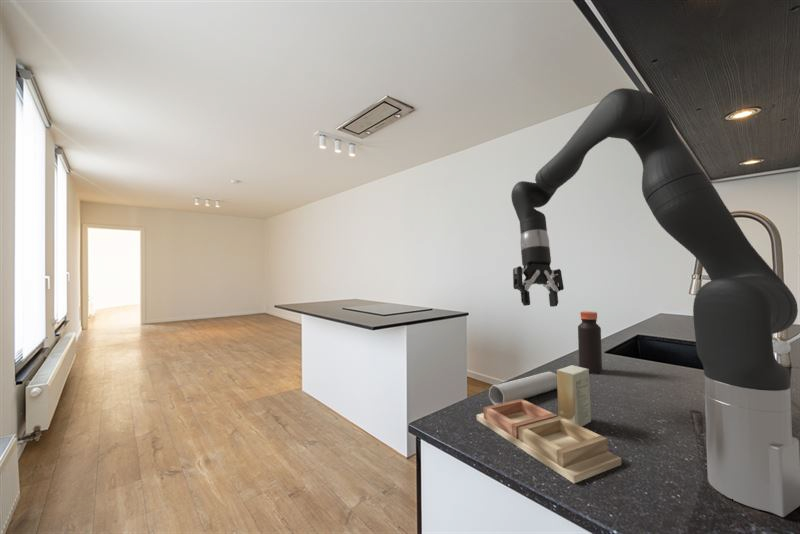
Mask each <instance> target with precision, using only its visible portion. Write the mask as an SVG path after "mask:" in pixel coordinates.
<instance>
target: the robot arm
mask: <svg viewBox="0 0 800 534" xmlns="http://www.w3.org/2000/svg"><path fill="white" fill-rule="evenodd" d="M608 138H612V139H619V140H620V139H621V140H626V141H627V142H629V144H630V145H631V146H632V147H633V148H634V150H635V152H636V154H637V155H638V157H639V158H640V160H641V164H642V179H641V191H642V195H643V197H644V200H645V202H646V204H647V206H648V208H649V209H650V212H651V213H652V215H653V217H654V218H655V219H656V221H657V222H658V224H659V225H660V227H661V228H662V229H663V230H664V231H665V232H666V233H667V234H668V235H670V236H671V237H672V238H673V239H674V240H676V242H678V243H679V244H680V245H681V246H682V247H684V248H685V249H686V250H687V251H688V252H690V254H691V255H693V256H694V257H695V258H696V259H697V261H698V262H699V263H700V264H701V266H702V267H703V268H704V270H705V272H706V274H707V275H708V278H709V280H710V281H707V282H705V283H704V284H703V285H702V286H701V287H700V288H699V289H698V290H697V292H696V294H695V297H694V301H693V306H692V307H693V308H692V309H693V310H692V311H693V312H692V314H693V327H694V328H693V329H694V336H695V337H694V339H695V349H696V353H697V356H698V359H699V360H700V362H701V364H702V366H703V374H704V375H703V377H704V379H703V380H704V406H705V408H704V409H705V410H704V411H705V413H704V414H705V436H706V437H705V439H706V470H707V481H708V483H709V484H710V486H711V487H712V488H713V489H715V491H716V492H718V493H720V494H721V495H723V496H725V497H727V498H728V499H731V500H732V499H733V501H735V502H737V503H739V504H742V505H744V506H747V507H749V508H753V509H756V510H761V511H765V512H768V513H772V514H774V515H776V516H779V517H781V518H785V517H787V515H789V514H790V513H792V512H794V511H795V510H796V509H797V508H799V507H800V442H799V439H798V438H796V437H793V430H792V429H793V428H792V426H793V425H792V404H791V401H792V400H791V379H790V378H791V377H790V372H789V371H790V370H789V369H788V368H787V367H786V366H785V365H783V364H782V363H779V362H778V361H777V359H776V357H775V352H774V344H773V335H774V334H777V333H780V332H783V331H786V330H787V329H789V328H790V327H792V325H793V324H794V323H795V322H796V319H797V317H798V311H799V310H798V303H797V300H796V297H795V295H794V294H793V292H792V291H791V290H790V289H789V287H788V285H786V283H785V282H784V281H783V280H782V279H781V278H780V277H779V275H778V274H777V273H776V272H775V271H774V270H773V269H772V268H771V266H770V265H769V263H767V262H766V261H765V259H764V258H763V257H762V256H761V255H760V253H758V251H757V250H756V249H755V248H754V246H753V245H752V244H751V242H750V241H749V239H748V238H747V237H746V234H744V232H743V231H742V228H741V227H740V225H739V224H738V222H737V221H736V219H735V217H734V216H733V214H732V213H731V212H730V210H729V209H728V207H727V206H726V204H725V202H724V201H723V199H722V198H721V196H720V194H719V192H718V191H717V189H716V188H715V186H714V185H713V184H712V182H711V181H710V179H709V178H708V176H707V175H706V173H705V172H704V170H703V169H702V168H701V167H700V165H699V164H698V163H697V161H696V160H695V158H694V156H693V155H692V154H691V152H690V150H689V149H688V148H687V146H686V145H685V144H684V142H683V141H682V139H681V138H680V136H679V134H678V133H677V131H676V129H675V126H674V124H673V123H672V120H671V117H670V115H669V114H668V111H667V109H666V107H665V105H664V103H663V102H662V100H661V99H660V97H658V96H657V95H655V93H653V92H650V91H643V90H640V89H639V90H638V89H632V88H628V87H627V88H625V87H624V88H623V87H621V88H617V89H615V90H612V91H611V92H609V93H607V94H606V95H605V96H604V97H603V98H602V99H601V100H600V101H599V102H598V104H597V105H596V106H595V107H594V108H593V109H592V111H591V112H590V113H589V114H588V116H587V117H586V118H585V120H584V121H583V122H582V123H581V125H580V126H579V127H578V128H577V130H576V131H575V132H574V133H573V134H572V136H571V137H570V139H569V140H568V141H567V142H566V143H565V145H564V146H563V147H562V148H560V150H559V152H558V153H557V154H556V155H554V156H553V157H552V158H550V160H549V161H548V162H547V163H545V164H544V165H543V167H541V168H540V169H539V170H538V172H537V173H536V175H535V178H534V180H535V182H531V181H526V180H525V181H522V180H521V181H518V182H516V184H515V185H514V186H513V188H512V190H511V197H510V198H511V202H512V203H511V204H512V206H513V208H514V211H515V214H516V216H517V219H518V221H519V230H520V251H521V253H520V254H521V262H522V263H521V265H522V266H523V267H522V266H520V265H518V266H517V267H514V268H513V270H512V279H513V280H512V282H513V283H512V284H513V285H512V286H513V289H514V290H518V291H519V292H520V300H521V304H522V305H523V306H524V307H525V306H530V305H531V296H530V291H529V290H530V289H531V287H532V285H540V286H541V285H542V287H544V288H545V289H546V290H547V292H548V299H549V300H548V301H549V307H551V308H552V307H553V308H554V307H557V306H558V304H559V298H558V297H559V296H558V292H560V291H563V290H564V289H565V288H564V280H563V276H562V274H563V273H562V270H561V269H560V268H558V269H552V268H551V263H552V256H551V247H550V239H549V236H548V227H547V219H546V216H545V214H544V213H543V212H541V211H540V210H537V208H542V207H544V206H545V205H547V204H548V203H549V201H550V200H551V199H552V197H553V196H554V195H555V193H556V192H557V191H558V189H559V188H561V187H562V186H563V185H564V184H565V183H567V182H568V181H570V180H571V179H572V178H573V177H574V176H576V174H577V173H578V172H579V170H580V169H581V166H582V165H583V162H584V159H585V157H586V156H587V154H588V153H589V151H591V149H593V148H594V147H596V146H597V145H598V144H600V143H601V142H603V141H604V140H606V139H608ZM523 275H524V277H525V278H524V279H523Z"/></svg>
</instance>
